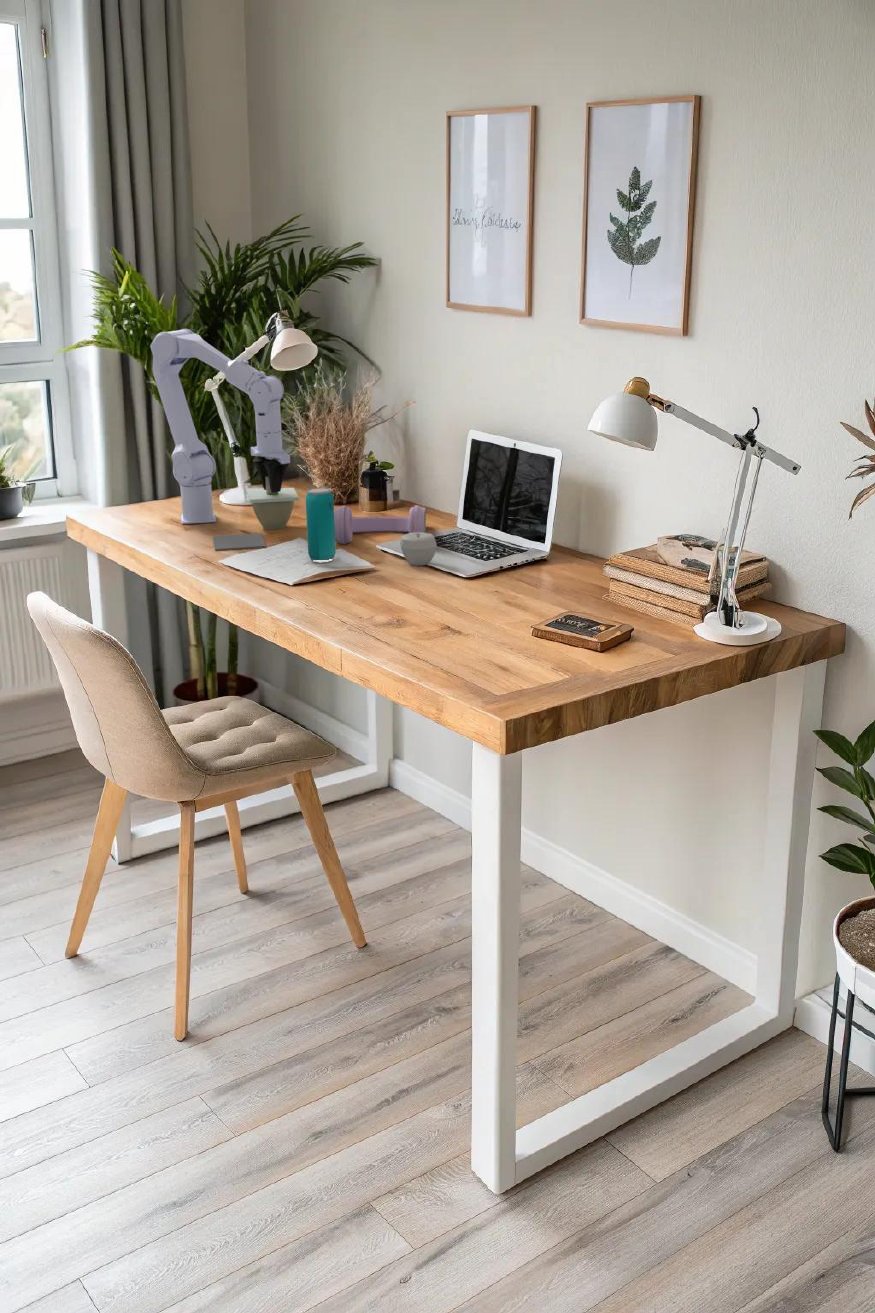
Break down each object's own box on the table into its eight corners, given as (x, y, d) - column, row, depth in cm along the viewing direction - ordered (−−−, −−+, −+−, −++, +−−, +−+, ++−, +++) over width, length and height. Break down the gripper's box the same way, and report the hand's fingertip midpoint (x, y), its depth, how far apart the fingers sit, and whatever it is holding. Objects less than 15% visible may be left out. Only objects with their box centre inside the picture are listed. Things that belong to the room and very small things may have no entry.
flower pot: (304, 526, 291) (303, 496, 289) (271, 534, 284) (269, 503, 282) (276, 520, 298) (275, 490, 295) (243, 527, 291) (241, 497, 288)
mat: (212, 537, 282) (212, 536, 281) (261, 534, 284) (261, 533, 284) (215, 550, 270) (215, 549, 270) (266, 547, 273) (266, 545, 272)
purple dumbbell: (332, 513, 269) (341, 483, 287) (335, 556, 273) (343, 524, 291) (423, 513, 268) (427, 483, 286) (424, 555, 273) (428, 523, 291)
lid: (246, 493, 292) (245, 473, 291) (293, 490, 295) (292, 470, 293) (250, 503, 282) (249, 482, 281) (298, 500, 284) (297, 479, 283)
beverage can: (338, 557, 264) (335, 487, 259) (333, 564, 259) (330, 492, 254) (311, 556, 265) (308, 486, 260) (306, 563, 259) (302, 492, 254)
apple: (444, 565, 257) (444, 534, 255) (411, 571, 253) (411, 539, 251) (425, 557, 263) (424, 526, 261) (392, 562, 259) (391, 531, 257)
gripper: (237, 429, 287) (241, 487, 291) (269, 437, 276) (272, 497, 280) (264, 426, 291) (268, 483, 295) (296, 433, 280) (299, 493, 284)
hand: (272, 490), depth 288 cm, fingers closed on lid, 3 cm apart
